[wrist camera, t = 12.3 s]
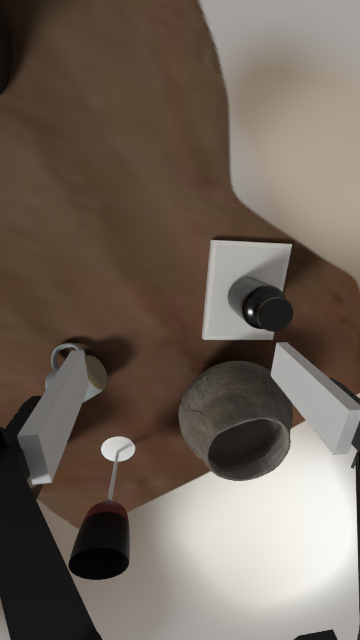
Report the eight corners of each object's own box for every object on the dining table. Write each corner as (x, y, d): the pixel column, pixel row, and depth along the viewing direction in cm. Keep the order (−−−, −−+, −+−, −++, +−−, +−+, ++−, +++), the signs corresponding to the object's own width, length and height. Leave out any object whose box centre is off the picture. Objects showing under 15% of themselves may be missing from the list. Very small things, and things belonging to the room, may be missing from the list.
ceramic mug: (113, 373, 47) (106, 398, 40) (79, 393, 48) (66, 420, 40) (80, 331, 43) (65, 350, 36) (44, 353, 44) (22, 375, 37)
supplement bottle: (270, 286, 43) (311, 305, 31) (250, 318, 44) (282, 347, 33) (238, 269, 41) (271, 282, 30) (219, 303, 43) (242, 328, 32)
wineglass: (103, 432, 52) (74, 545, 33) (141, 439, 54) (135, 550, 35) (94, 458, 54) (63, 578, 35) (132, 464, 56) (121, 581, 37)
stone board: (210, 239, 40) (212, 240, 39) (288, 243, 42) (292, 244, 40) (201, 337, 46) (203, 339, 45) (270, 337, 48) (272, 340, 47)
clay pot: (284, 403, 54) (330, 462, 40) (203, 444, 56) (219, 514, 42) (248, 328, 47) (289, 369, 33) (155, 378, 48) (156, 438, 34)
